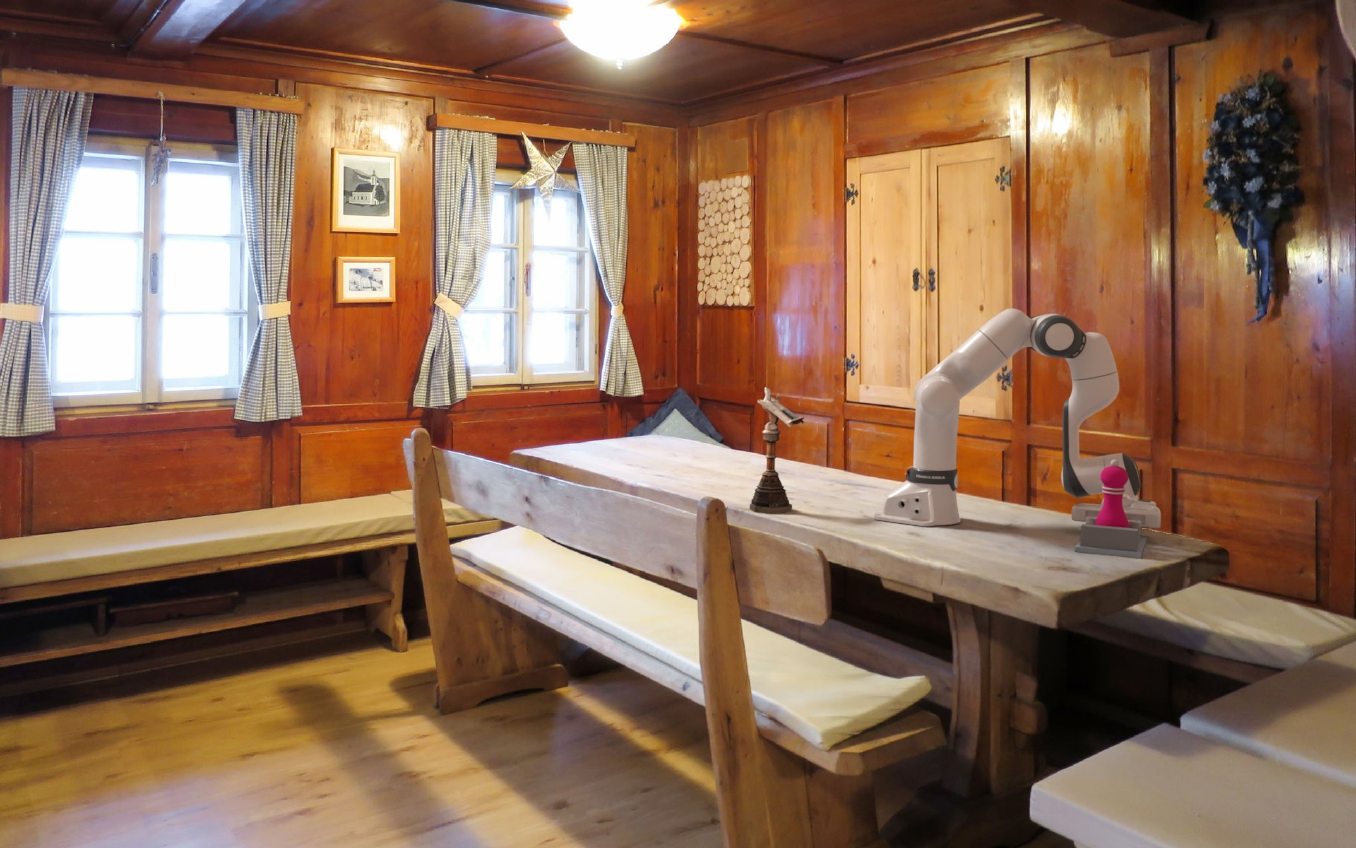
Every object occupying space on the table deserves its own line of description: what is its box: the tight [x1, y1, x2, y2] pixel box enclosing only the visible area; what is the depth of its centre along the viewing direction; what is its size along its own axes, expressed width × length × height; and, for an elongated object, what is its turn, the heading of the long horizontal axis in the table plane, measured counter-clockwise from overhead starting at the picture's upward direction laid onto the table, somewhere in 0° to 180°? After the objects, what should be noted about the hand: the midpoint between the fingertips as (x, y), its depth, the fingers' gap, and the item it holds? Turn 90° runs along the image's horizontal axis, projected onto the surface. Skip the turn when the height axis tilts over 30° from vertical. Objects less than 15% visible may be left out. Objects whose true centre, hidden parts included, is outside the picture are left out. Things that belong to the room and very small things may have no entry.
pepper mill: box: [1095, 459, 1129, 528], centre depth 238 cm, size 7×7×20 cm
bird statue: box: [749, 387, 805, 515], centre depth 285 cm, size 17×13×35 cm
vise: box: [1074, 523, 1147, 559], centre depth 241 cm, size 14×20×6 cm
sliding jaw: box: [1085, 516, 1142, 543], centre depth 243 cm, size 12×2×5 cm, turn 63°
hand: (1113, 521), depth 244 cm, fingers closed, pressing on sliding jaw
